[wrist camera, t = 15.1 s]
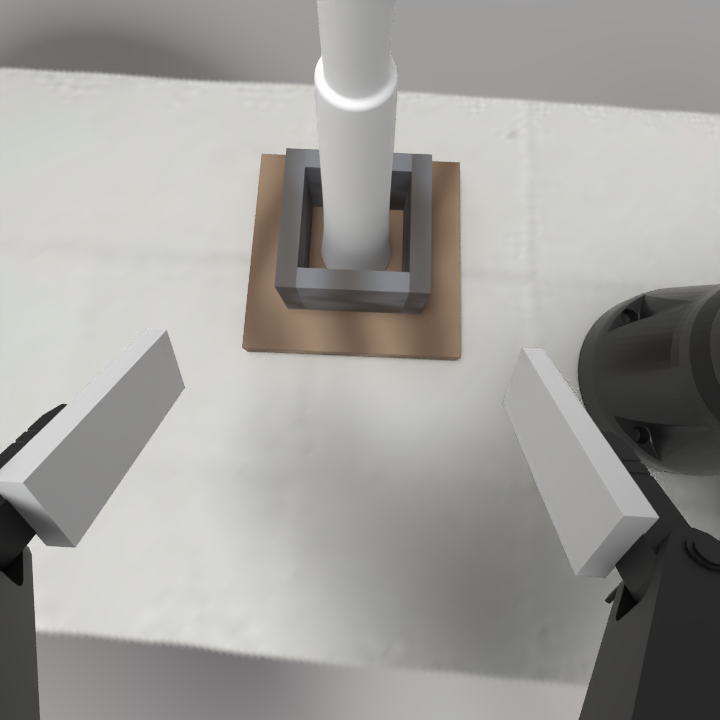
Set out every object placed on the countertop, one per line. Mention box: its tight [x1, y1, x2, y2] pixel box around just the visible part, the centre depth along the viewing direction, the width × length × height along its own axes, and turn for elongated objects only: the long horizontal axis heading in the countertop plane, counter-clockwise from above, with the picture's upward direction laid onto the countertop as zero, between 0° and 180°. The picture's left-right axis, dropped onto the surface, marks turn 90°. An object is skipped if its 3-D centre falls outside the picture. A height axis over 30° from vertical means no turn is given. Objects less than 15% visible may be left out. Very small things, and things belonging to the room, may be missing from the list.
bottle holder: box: [242, 148, 461, 360], centre depth 29 cm, size 18×18×6 cm
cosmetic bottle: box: [315, 0, 398, 271], centre depth 20 cm, size 6×6×22 cm
